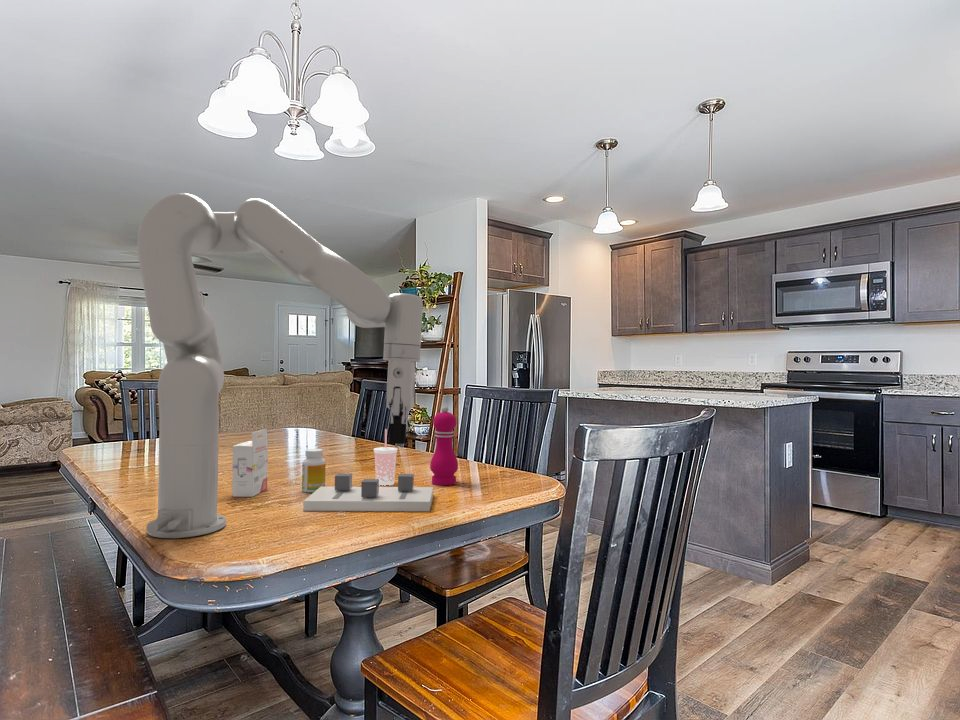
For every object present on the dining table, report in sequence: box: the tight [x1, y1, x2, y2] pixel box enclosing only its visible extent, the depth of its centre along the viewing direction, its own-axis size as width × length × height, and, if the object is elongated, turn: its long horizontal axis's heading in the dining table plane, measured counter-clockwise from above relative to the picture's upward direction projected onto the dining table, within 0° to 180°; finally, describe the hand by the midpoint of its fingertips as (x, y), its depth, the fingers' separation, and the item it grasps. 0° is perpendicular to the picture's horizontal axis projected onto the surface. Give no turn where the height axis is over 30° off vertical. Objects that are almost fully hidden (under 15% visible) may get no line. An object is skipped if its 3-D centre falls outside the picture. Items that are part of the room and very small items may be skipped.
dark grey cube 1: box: [334, 472, 353, 491], centre depth 123 cm, size 3×3×3 cm
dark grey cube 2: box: [360, 478, 380, 497], centre depth 117 cm, size 3×3×3 cm
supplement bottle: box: [301, 448, 327, 493], centre depth 132 cm, size 5×5×10 cm
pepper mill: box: [429, 405, 459, 486], centre depth 142 cm, size 7×7×20 cm
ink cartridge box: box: [231, 428, 269, 498], centre depth 128 cm, size 9×5×15 cm, turn 179°
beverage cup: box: [373, 428, 399, 487], centre depth 140 cm, size 6×6×14 cm
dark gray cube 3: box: [397, 473, 415, 491], centre depth 124 cm, size 3×3×3 cm
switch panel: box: [302, 486, 434, 512], centre depth 120 cm, size 14×26×2 cm, turn 92°
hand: (397, 443), depth 112 cm, fingers closed
